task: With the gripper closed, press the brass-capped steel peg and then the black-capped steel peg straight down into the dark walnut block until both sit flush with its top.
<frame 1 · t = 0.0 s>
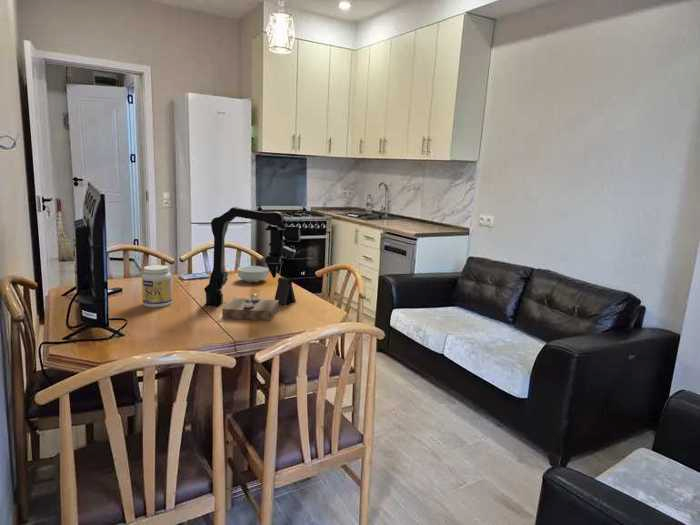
hand: (276, 275, 205), 15 cm above the table, tool pointing down, fingers open, 9 cm apart
black capped peg: (248, 305, 191), point 5 cm above the table, slide at 3.0 cm
phone stand: (284, 303, 215), on the table
cereal bowl: (253, 281, 256), on the table
brass capped peg: (254, 298, 201), point 5 cm above the table, slide at 3.0 cm
walnut block: (251, 313, 197), on the table
supplement tub: (157, 304, 206), on the table
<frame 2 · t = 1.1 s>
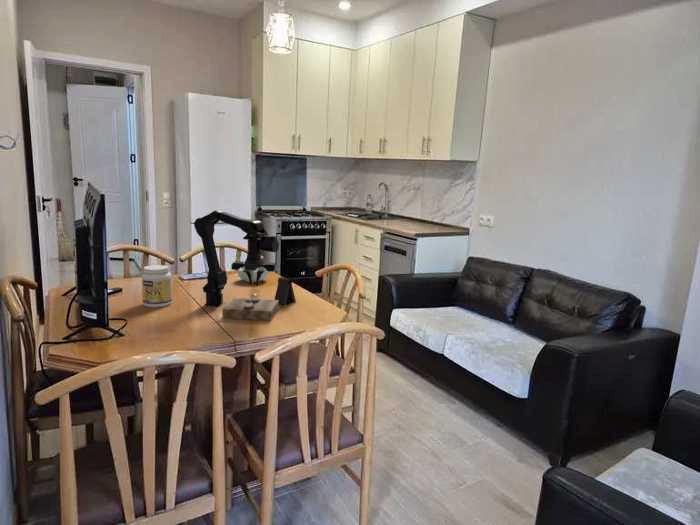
hand: (254, 285, 200), 11 cm above the table, tool pointing down, fingers closed
nothing on the table moved.
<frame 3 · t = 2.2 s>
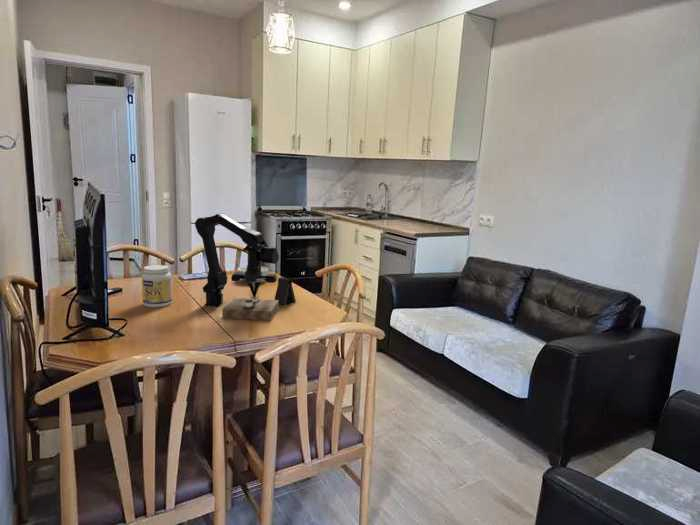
hand: (254, 296, 201), 6 cm above the table, tool pointing down, fingers closed, pressing on brass capped peg
brass capped peg: (254, 300, 201), point 4 cm above the table, slide at 2.0 cm, touching gripper
everything else where it was.
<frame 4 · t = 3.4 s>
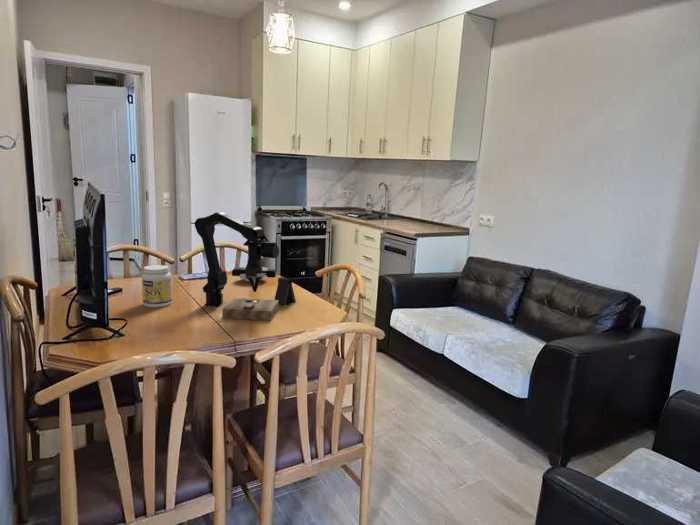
hand: (255, 291, 201), 8 cm above the table, tool pointing down, fingers closed
brass capped peg: (254, 305, 202), point 2 cm above the table, slide at 0.0 cm
everything else where it was.
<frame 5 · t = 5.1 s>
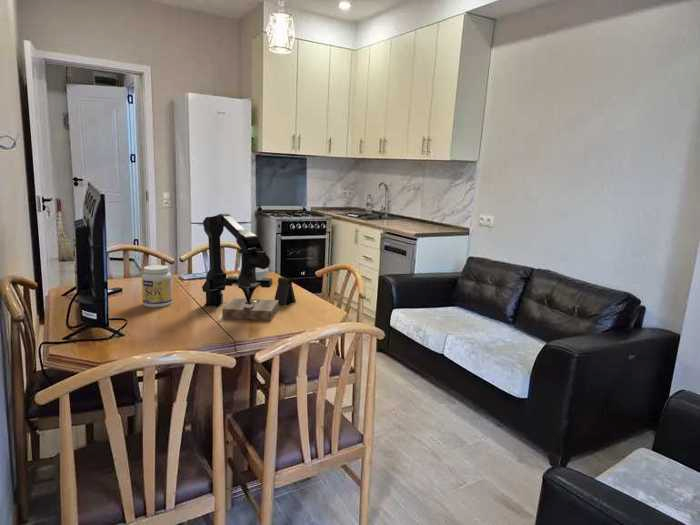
hand: (248, 302, 191), 6 cm above the table, tool pointing down, fingers closed, pressing on black capped peg
black capped peg: (248, 306, 192), point 5 cm above the table, slide at 2.4 cm, touching gripper
everything else where it was.
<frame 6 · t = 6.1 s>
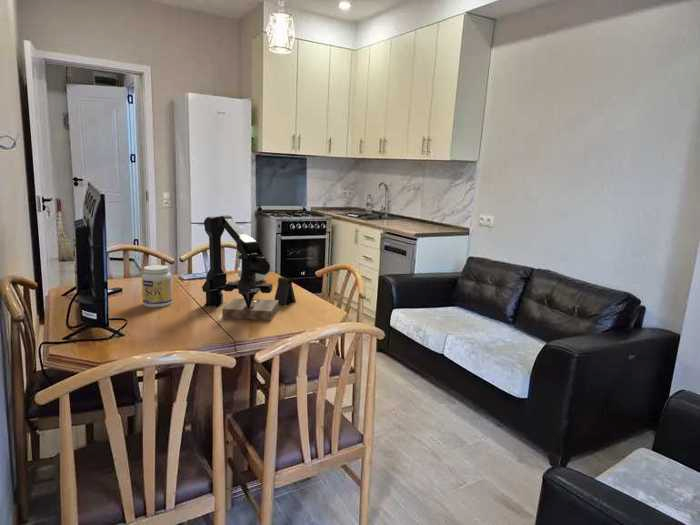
hand: (248, 307, 192), 4 cm above the table, tool pointing down, fingers closed
black capped peg: (248, 312, 192), point 2 cm above the table, slide at 0.0 cm
everything else where it was.
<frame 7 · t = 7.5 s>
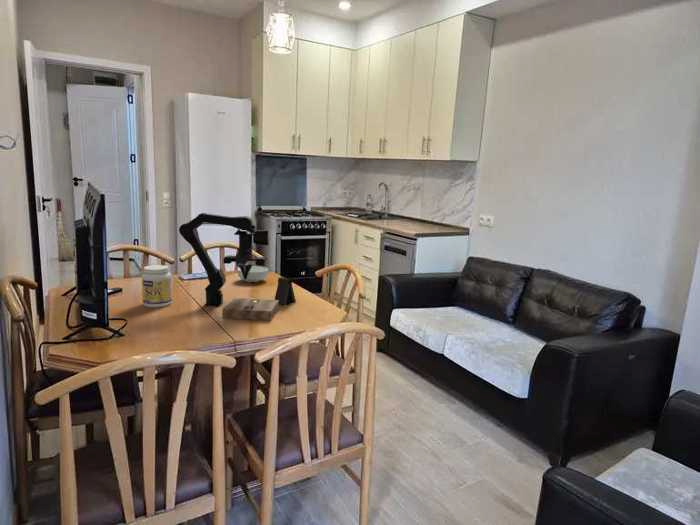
hand: (245, 279, 208), 12 cm above the table, tool pointing down, fingers closed
nothing on the table moved.
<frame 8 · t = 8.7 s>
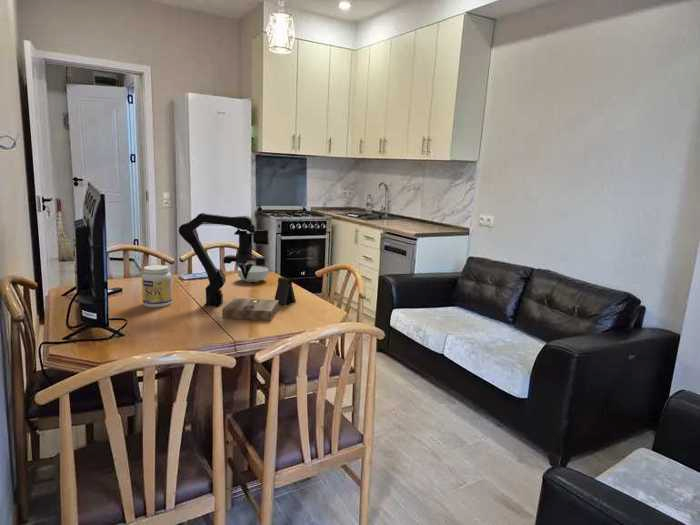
hand: (245, 278, 208), 12 cm above the table, tool pointing down, fingers closed
nothing on the table moved.
at the end: brass capped peg slide at 0.0 cm; black capped peg slide at 0.0 cm; phone stand moved 0.3 cm from its start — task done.
